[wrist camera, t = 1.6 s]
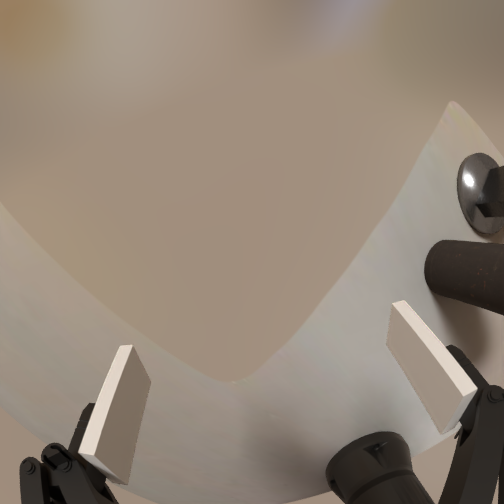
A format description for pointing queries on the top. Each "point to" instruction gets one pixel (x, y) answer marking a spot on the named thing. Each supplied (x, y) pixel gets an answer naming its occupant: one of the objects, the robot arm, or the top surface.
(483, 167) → the lid
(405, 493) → the robot arm
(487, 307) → the container
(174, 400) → the top surface
